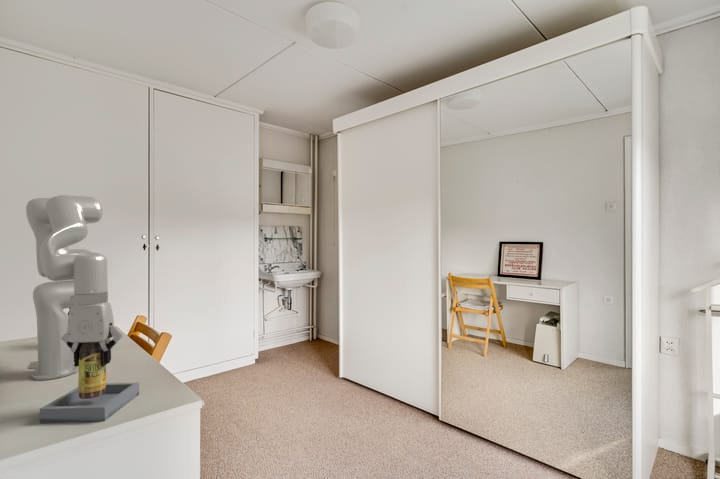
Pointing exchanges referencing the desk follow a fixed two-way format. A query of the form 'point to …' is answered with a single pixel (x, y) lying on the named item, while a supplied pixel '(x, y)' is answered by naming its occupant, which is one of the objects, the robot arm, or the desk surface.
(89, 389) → the sauce bottle
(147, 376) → the desk surface
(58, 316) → the robot arm
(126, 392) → the tray
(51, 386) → the desk surface
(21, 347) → the desk surface
